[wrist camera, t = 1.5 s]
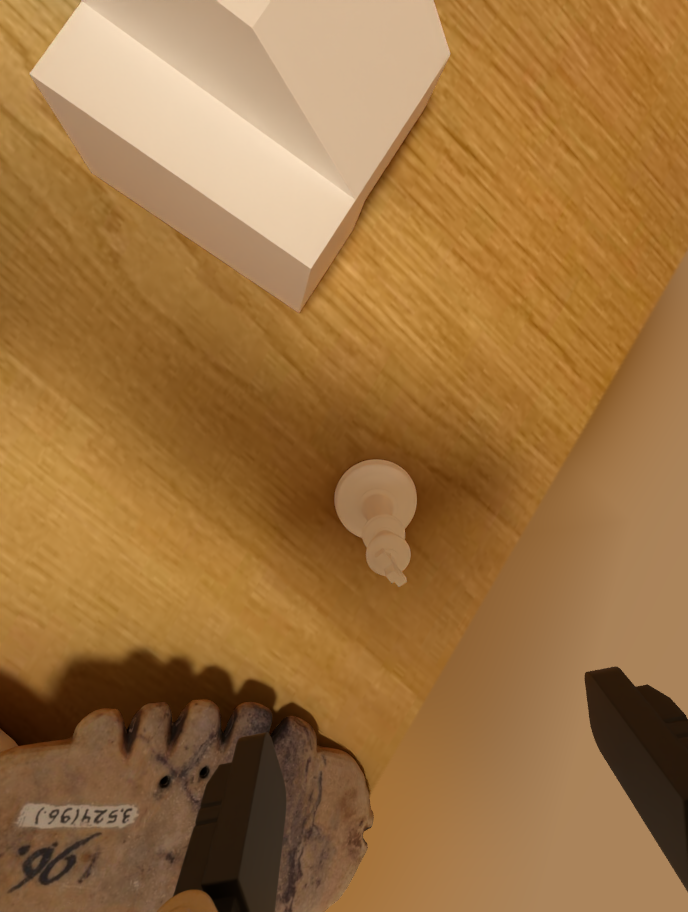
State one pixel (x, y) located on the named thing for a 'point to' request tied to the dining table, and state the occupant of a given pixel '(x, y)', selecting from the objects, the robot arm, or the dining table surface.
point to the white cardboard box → (246, 116)
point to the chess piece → (379, 513)
